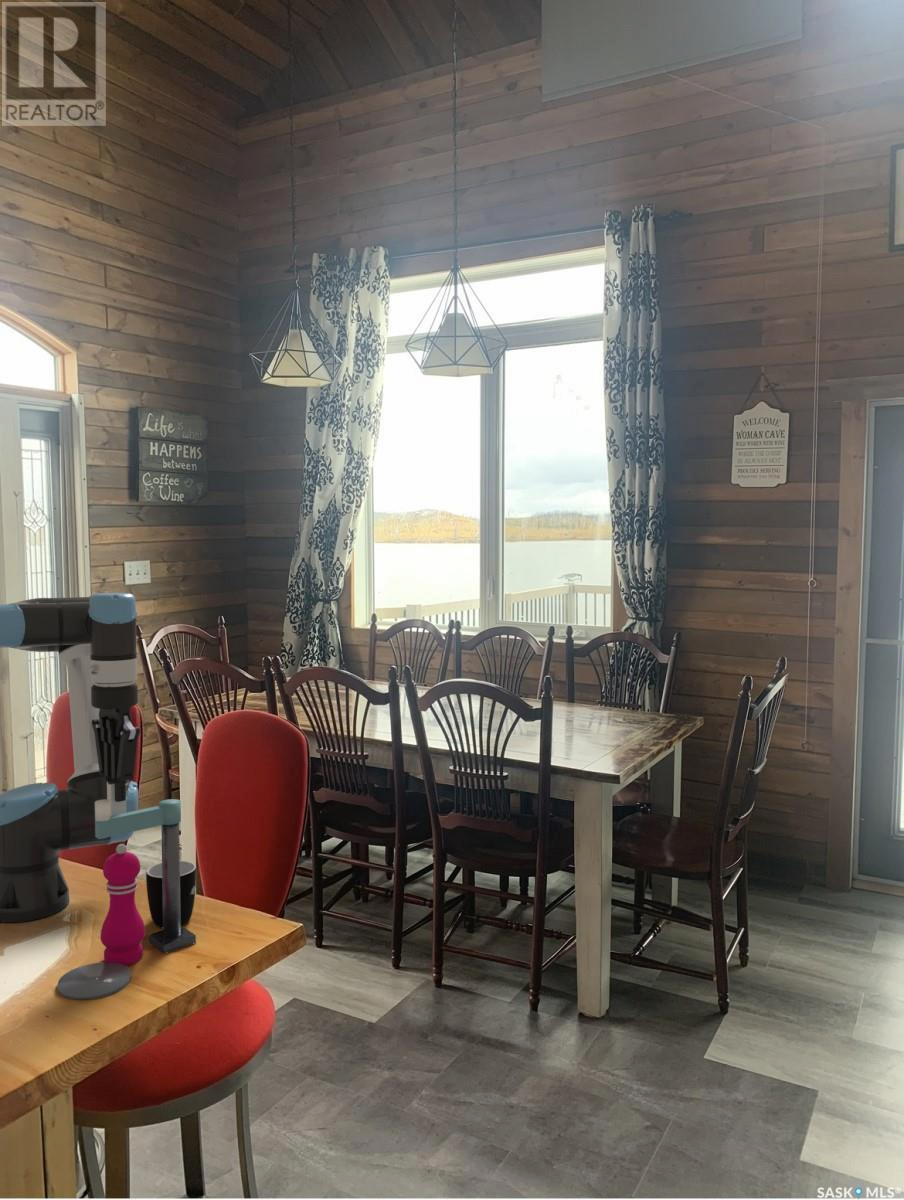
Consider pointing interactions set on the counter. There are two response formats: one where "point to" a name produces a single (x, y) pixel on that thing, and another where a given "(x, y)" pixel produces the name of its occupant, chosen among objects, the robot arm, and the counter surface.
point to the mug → (157, 895)
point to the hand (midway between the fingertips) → (117, 818)
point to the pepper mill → (122, 909)
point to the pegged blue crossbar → (134, 818)
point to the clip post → (171, 896)
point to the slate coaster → (94, 980)
